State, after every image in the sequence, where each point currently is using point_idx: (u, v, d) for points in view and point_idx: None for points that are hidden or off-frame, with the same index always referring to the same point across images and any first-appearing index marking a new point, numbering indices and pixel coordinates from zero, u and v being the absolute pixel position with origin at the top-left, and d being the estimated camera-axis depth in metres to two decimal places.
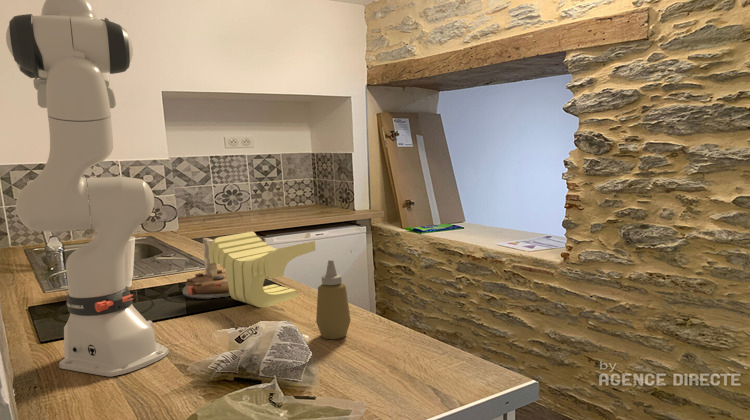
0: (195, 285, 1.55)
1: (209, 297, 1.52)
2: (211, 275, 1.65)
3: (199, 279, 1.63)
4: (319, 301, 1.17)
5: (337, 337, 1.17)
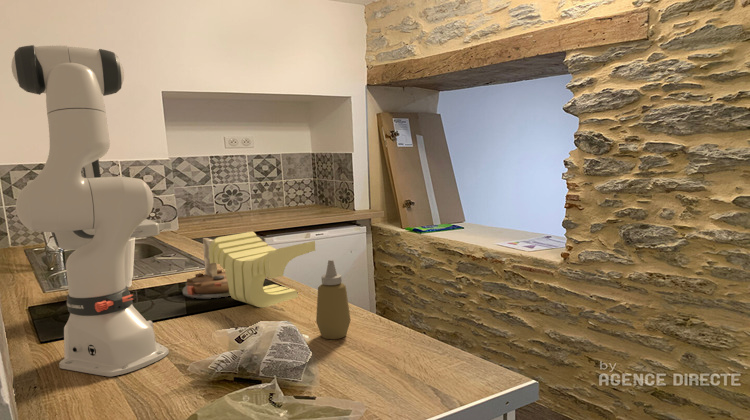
0: (195, 285, 1.55)
1: (209, 297, 1.52)
2: (211, 275, 1.65)
3: (199, 279, 1.63)
4: (319, 301, 1.17)
5: (337, 337, 1.17)
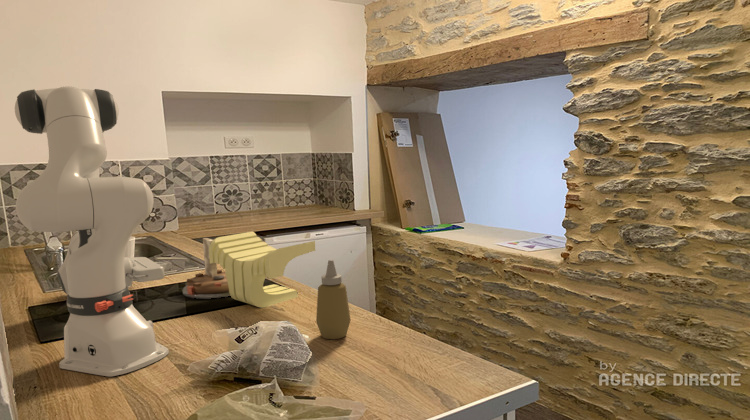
0: (195, 285, 1.55)
1: (209, 297, 1.52)
2: (211, 275, 1.65)
3: (199, 279, 1.63)
4: (319, 301, 1.17)
5: (337, 337, 1.17)
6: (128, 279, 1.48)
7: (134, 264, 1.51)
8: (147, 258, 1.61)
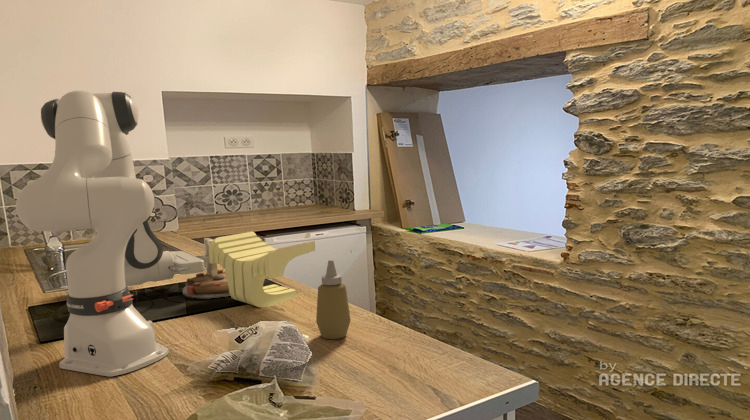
0: (194, 285, 1.55)
1: (209, 297, 1.52)
2: (211, 275, 1.66)
3: (199, 279, 1.63)
4: (319, 301, 1.17)
5: (337, 337, 1.17)
6: (170, 272, 1.55)
7: (175, 257, 1.58)
8: (185, 252, 1.68)
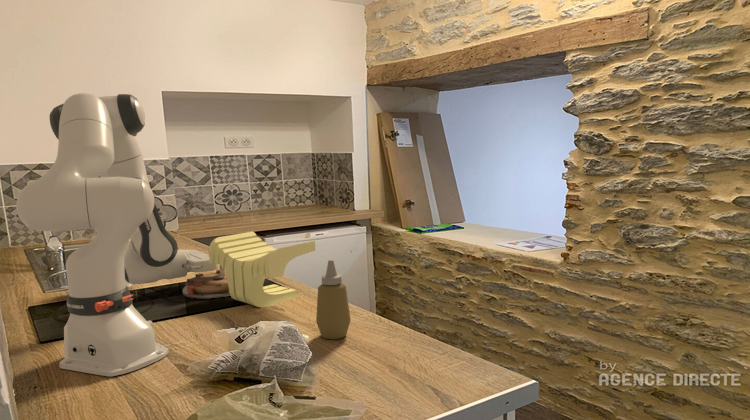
0: (187, 281, 1.60)
1: (209, 297, 1.52)
2: None
3: (209, 275, 1.67)
4: (319, 301, 1.17)
5: (337, 337, 1.17)
6: (184, 270, 1.58)
7: (189, 256, 1.60)
8: None
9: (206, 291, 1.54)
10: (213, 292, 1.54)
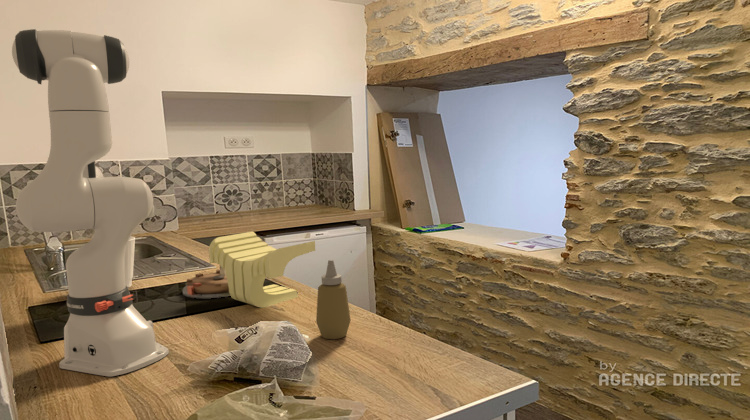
0: (187, 281, 1.60)
1: (209, 297, 1.52)
2: None
3: (209, 275, 1.67)
4: (319, 301, 1.17)
5: (337, 337, 1.17)
6: None
7: None
8: None
9: (206, 291, 1.54)
10: (213, 292, 1.54)
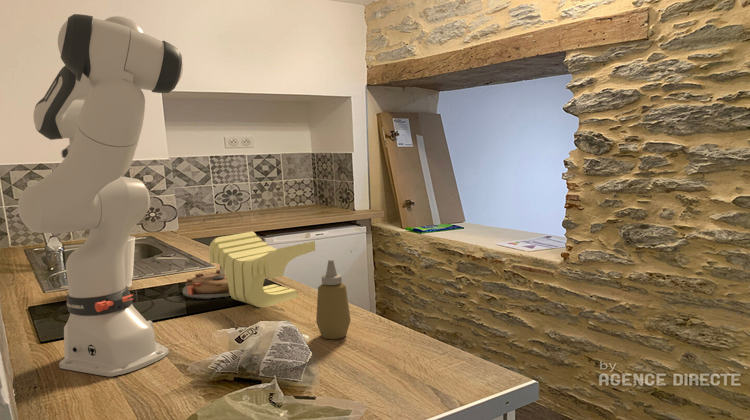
0: (187, 281, 1.60)
1: (209, 297, 1.52)
2: None
3: (209, 275, 1.67)
4: (319, 301, 1.17)
5: (337, 337, 1.17)
6: None
7: None
8: None
9: (206, 291, 1.54)
10: (213, 292, 1.54)
